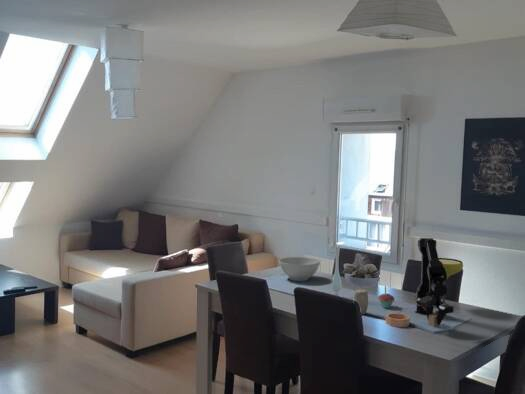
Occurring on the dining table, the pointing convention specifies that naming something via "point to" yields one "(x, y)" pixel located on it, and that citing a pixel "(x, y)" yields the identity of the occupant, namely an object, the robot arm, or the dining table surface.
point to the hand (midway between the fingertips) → (434, 322)
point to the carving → (362, 299)
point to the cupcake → (386, 299)
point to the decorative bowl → (299, 267)
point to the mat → (434, 333)
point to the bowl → (397, 320)
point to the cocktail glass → (451, 270)
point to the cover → (433, 325)
